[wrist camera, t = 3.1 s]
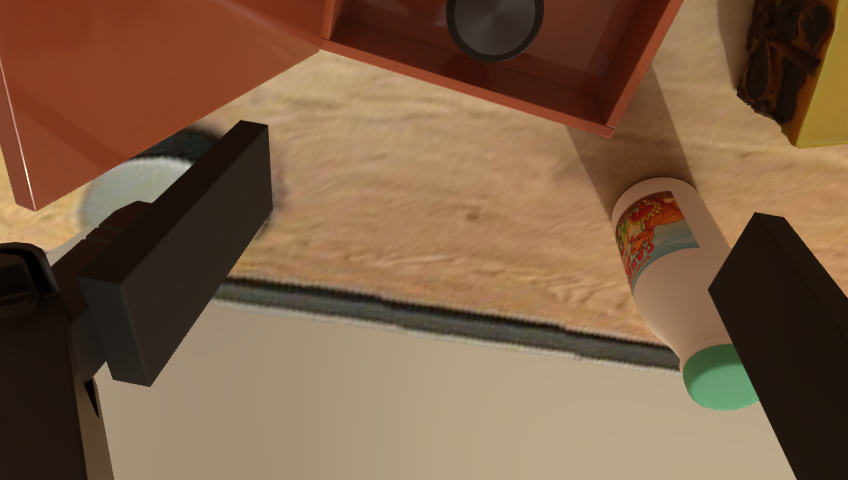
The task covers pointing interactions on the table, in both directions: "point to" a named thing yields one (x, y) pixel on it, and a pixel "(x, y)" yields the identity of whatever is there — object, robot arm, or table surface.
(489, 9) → the silver-capped dark cylinder
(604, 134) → the reddish-brown box
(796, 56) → the candle
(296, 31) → the lid
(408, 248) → the table surface
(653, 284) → the milk bottle
